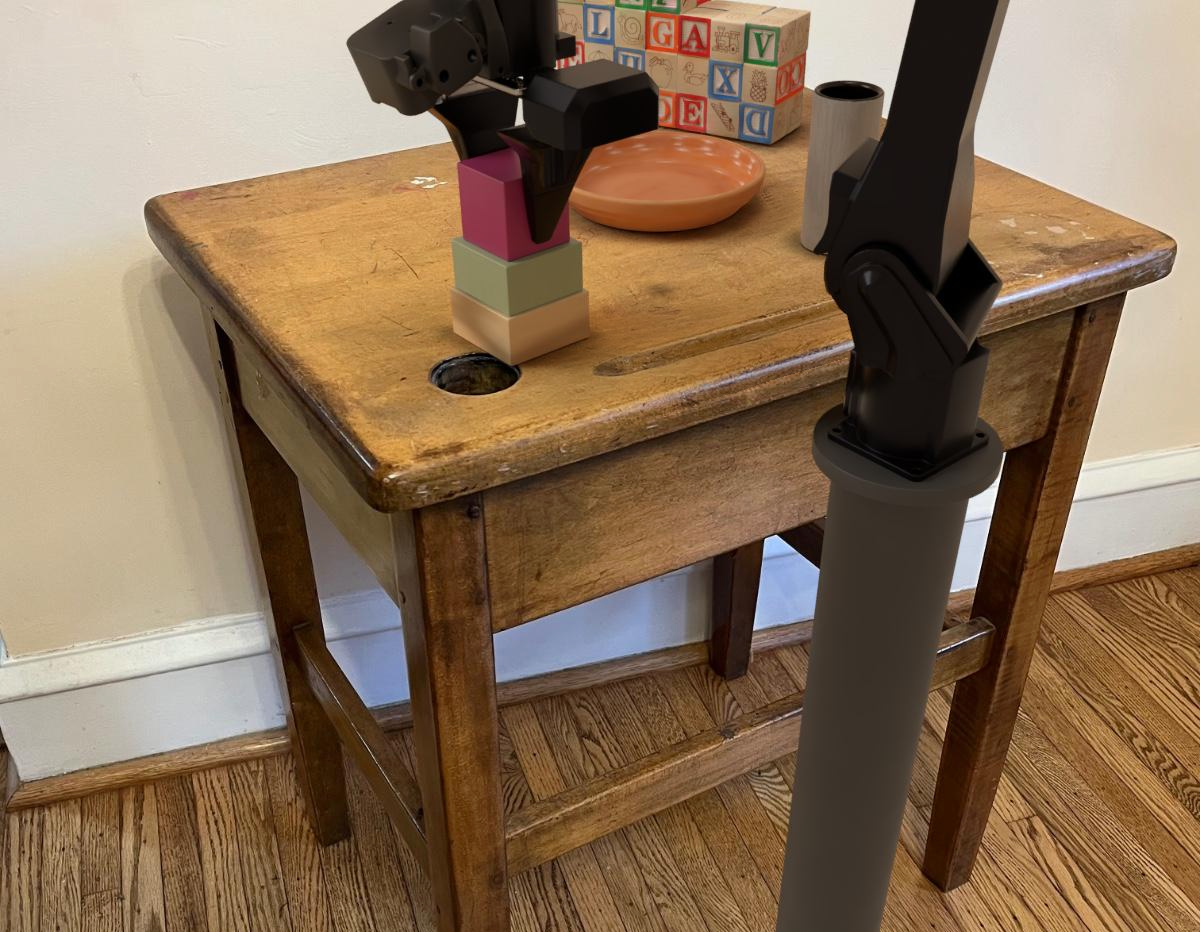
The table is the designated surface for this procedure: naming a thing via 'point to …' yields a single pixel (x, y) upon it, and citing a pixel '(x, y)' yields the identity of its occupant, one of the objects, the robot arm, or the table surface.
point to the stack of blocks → (703, 59)
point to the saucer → (666, 181)
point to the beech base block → (521, 326)
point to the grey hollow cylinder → (835, 143)
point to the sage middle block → (518, 275)
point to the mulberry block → (500, 207)
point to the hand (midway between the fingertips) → (515, 229)
